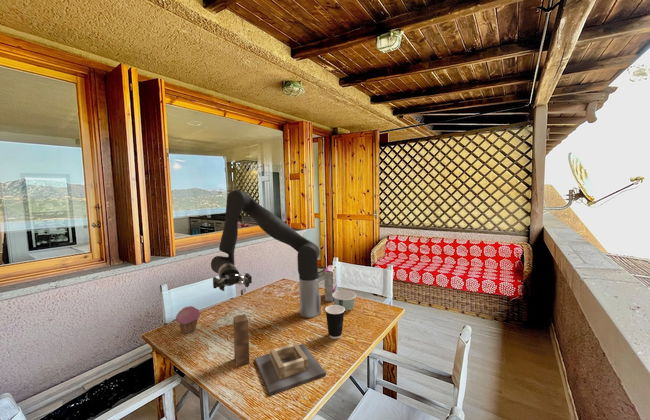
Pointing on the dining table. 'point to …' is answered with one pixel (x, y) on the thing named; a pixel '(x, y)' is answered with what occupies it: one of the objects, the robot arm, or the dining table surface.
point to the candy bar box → (330, 282)
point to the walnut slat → (241, 340)
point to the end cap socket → (288, 367)
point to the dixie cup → (335, 320)
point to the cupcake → (188, 319)
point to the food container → (344, 299)
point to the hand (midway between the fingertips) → (235, 286)
